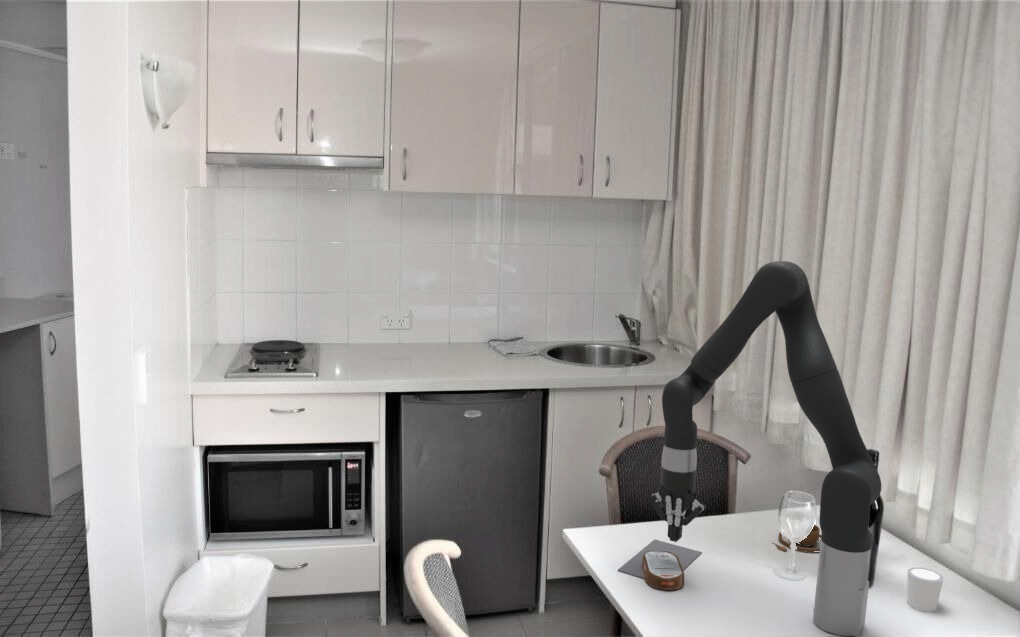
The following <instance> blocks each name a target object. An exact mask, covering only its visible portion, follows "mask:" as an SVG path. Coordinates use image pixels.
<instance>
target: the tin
mask: <svg viewBox="0 0 1020 637" xmlns="http://www.w3.org/2000/svg"><path fill="white" fill-rule="evenodd" d="M642 568H643V572H644V576H645V579H644V580H645V583H647V584H648V585H649V586H650V587H653V588H655V589H660V590H666V591H667V590H668V591H670V590H671V591H673V590H674V591H675V590H678V589H680V588H683V586H684V584H685V581H684V580H685V573H684V572H685V571H683V569H682V566H681V563H680V561H679V558H678V556H676V555H675V554H673V553H671V552H668V551H653V550H651V551H647V552H646V553H644V555H643V562H642Z"/></svg>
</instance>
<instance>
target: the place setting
mask: <svg viewBox="0 0 1020 637" xmlns="http://www.w3.org/2000/svg"><path fill="white" fill-rule="evenodd" d="M820 531H821V528H820V526H818V525H816V524H814V527H813V529H812V531H811V532H810V534H809V535H808V536H807V538H805V539H804V540H802V541H801V542H799V543H800V544H801V545H796V546H797V550H796V551H797V552H801V551H807V552H806V553H808V552H814V551H820V547H817V548H816V547H812V548H811V547H805V546H802V545H811V544H812V545H813V544H816V543H817V542H818V541H819V540H818V539H819V537H820V538H821V534H820ZM778 540H779V542H780V543H781V544H782V545H783V546H782V545H778V544H777V543H775V542H774V543H775V546H776V549H778V550H779V551H781V550H782V552H787V551H788V549H787V548H788V547H790V544H791V543H789V542H787V540H784V539H783V538H782V535H781V533H780V532H779V533H778ZM774 543H772V544H773V545H774ZM812 545H811V546H812Z"/></svg>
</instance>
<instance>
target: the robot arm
mask: <svg viewBox="0 0 1020 637" xmlns="http://www.w3.org/2000/svg"><path fill="white" fill-rule="evenodd" d="M815 308H816V307H815V304H814V300H813V296H812V292H811V288H810V284H809V280H808V277H807V275H806V273H805V271H804V270H803V268H802V267H801V266H799V265H798V264H797V263H794V262H791V261H784V260H783V261H778V260H777V261H776V260H775V261H772V262H771V261H770V262H768V263H765V264H764V265H763V266H761V267H760V268H759V269H758V270H757V271H756V273H755V274H754V276H753V277H752V280H751V281H750V283H749V285H747V288H746V289H745V291H744V292H743V294H742V296H741V297H740V299H739V300H738V302H737V303H736V305H735V306H734V307H733V309H732V310H731V311H730V313H729V314H728V315H727V317H726V318H725V320H723V322H722V323H721V324H720V325H719V326H718V328H716V330H715V331H714V332H713V333H712V334H711V336H709V337H708V339H707V340H706V341H705V342H704V344H703V345H701V347H699V349H698V350H697V351H696V353H695V354H694V355H693V357H692V358H691V360H690V364H689V365H688V366H687V367H686V369H685V370H684V371H683V372H682V373H681V374H680V375H679V376H677V377H676V378H673V379H671V380H669V381H668V382H667V383H666V384H665V385H664V388H663V390H662V397H661V405H662V413H663V420H664V421H663V422H664V425H665V426H664V437H663V438H664V439H663V448H662V449H663V450H662V453H661V461H660V462H661V468H660V486H659V488H658V489H657V492H656V493H652V494H651V495H650V496H648V501H649V502H650V504H651V506H652V507H653V509H654V511H655V512H656V514H657V516H658V517H659V519H660V520H661V521H665V522H666V523H667V538H669V541H671V542H674V543H677V542H679V540H681V539H682V537H683V526H684V527H686V526H688V525H689V524H690V523H691V522H692V521H693V520H694V519H696V518H697V517H698V516H699V515H700V514H701V513H702V511H704V510H705V509H706V505H705V504H704V503H700V502H699V501H698V499H697V493H696V492H695V490H696V479H697V478H696V475H697V461H698V460H697V459H698V456H697V445H698V444H697V442H698V440H697V439H698V426H697V422H695V420H694V419H693V408H694V406H696V405H697V404H698V403H699V402H701V401H702V400H703V399H704V397H706V395H707V394H708V392H709V391H710V390H711V388H713V385H714V384H715V382H716V381H717V380H718V379H719V378H720V377H721V376H722V375H723V374H724V373H725V372H726V371H727V369H728V368H730V367H731V365H732V364H733V363H734V362H735V360H737V358H738V357H739V355H740V354H741V353H742V351H743V350H744V348H745V347H746V345H747V343H748V342H749V340H750V338H751V337H752V335H753V334H754V332H755V331H756V330H757V329H758V328H759V327H760V325H762V323H764V321H765V320H767V319H768V318H769V317H770V316H772V315H773V313H776V316H777V319H778V321H779V324H780V325H781V328H782V331H783V336H784V342H785V343H784V344H785V354H786V355H785V357H786V358H785V359H786V367H787V373H788V375H789V376H788V377H789V380H790V383H791V386H792V388H793V392H794V394H795V397H796V400H797V402H798V405H799V407H800V409H801V411H802V412H803V413H804V415H805V417H806V418H807V419H808V421H809V422H810V423H811V424H812V426H813V427H814V428H815V429H816V431H817V433H818V434H819V436H820V438H821V439H822V440H823V441H822V442H824V445H825V448H826V451H827V453H828V457H829V460H830V464H831V468H832V470H830V471H828V473H827V474H826V475H825V477H824V479H823V482H822V485H821V491H820V501H819V502H820V505H819V519H818V520H819V529H820V531H821V534H820V535H821V541H820V546H819V548H820V552H819V555H818V566H817V576H816V585H815V587H816V588H815V595H814V596H815V597H814V606H813V616H812V620H813V623H814V624H815V626H816V627H818V628H820V630H822V631H825V632H828V633H829V634H834V635H838V636H844V637H860V636H861V633H862V631H863V629H864V627H865V625H866V614H867V608H868V606H867V605H868V598H869V597H868V595H869V588H870V587H869V586H870V580H868V579H869V571H870V570H869V569H870V560H871V551H872V542H873V534H872V533H871V531H870V530H869V525H870V512H871V505H873V504H874V503H875V502H876V501H877V500H878V499H879V497H880V495H881V492H882V481H881V475H880V474H879V472H878V469H877V468H876V465H875V463H874V461H873V459H872V457H871V455H870V453H869V450H868V449H867V446H866V444H865V442H864V441H863V437H862V436H861V432H860V430H859V429H858V428H859V427H858V426H857V422H856V418H855V416H854V412H853V410H852V406H851V404H850V400H849V399H848V395H847V392H846V389H845V386H844V383H843V381H842V377H841V375H840V372H839V369H838V367H837V363H836V361H835V359H834V357H833V353H832V352H831V349H830V346H829V343H828V341H827V339H826V336H825V334H824V332H823V330H822V328H821V325H820V322H819V319H818V316H817V312H816V309H815ZM691 505H692V507H691V510H692V512H690V513H689V514H688V516H686V517H685V514H686V511H687V510H688V509H689V507H690V506H691Z"/></svg>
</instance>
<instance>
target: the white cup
mask: <svg viewBox="0 0 1020 637" xmlns="http://www.w3.org/2000/svg"><path fill="white" fill-rule="evenodd" d="M943 582H944V576H943V575H942V574H941V573H939V572H937V571H935V570H932V569H929V568H925V567H917V566H916V567H915V566H914V567H910V568H908V569H907V589H906V590H907V592H906V593H907V599H906V600H907V601H906V602H907V604H908V605H909V607H911V608H913V609H915V610H918V611H922V612H927V613H928V612H935V611H936V610H937V609H938V603H939V599H940V595H941V591H942V586H943Z"/></svg>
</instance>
